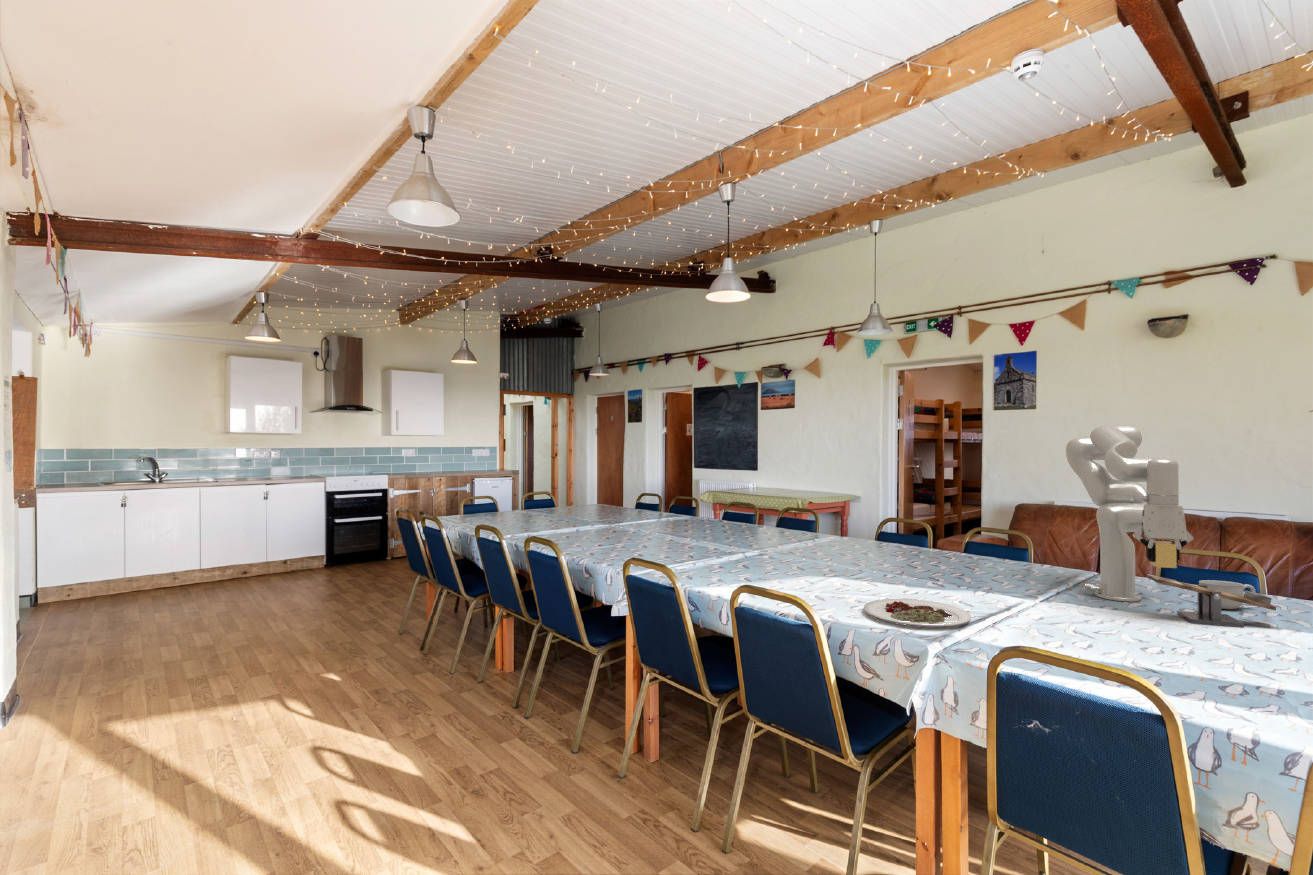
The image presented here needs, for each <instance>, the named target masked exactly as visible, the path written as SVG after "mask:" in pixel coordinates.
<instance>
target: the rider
mask: <svg viewBox="0 0 1313 875" xmlns="http://www.w3.org/2000/svg"><path fill="white" fill-rule="evenodd" d="M1153 548H1154V550H1155V561H1154V562H1151V561H1149V564H1150V565H1151V566H1153V567H1154V568H1166V569H1168V568H1169V569H1170V568H1171V569H1177V568H1178V566H1177V564H1178V563H1177V555H1176V544H1174V543H1172V542H1171V541H1166V540H1165V541H1164V540H1163V541H1162V540H1161V541H1160V540H1155V541H1154V544H1153Z"/></svg>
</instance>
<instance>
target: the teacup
mask: <svg viewBox="0 0 1313 875" xmlns="http://www.w3.org/2000/svg"><path fill="white" fill-rule="evenodd" d="M1198 585H1207V588H1208V589H1213V590H1217V591H1221V592H1226V593H1230V594H1234V595H1239V596H1243V597H1244V594H1245V589H1246V588H1249V591H1250V592H1254V593H1256V588H1255V587H1254V586H1253V585H1251V584H1247V583H1245V584H1243V583H1240V582H1234V581H1226V580H1211V579H1207V580H1204V579H1203V580H1202V579H1201V580H1199V581H1198ZM1243 604H1244V603H1241V602H1237V601H1233V600H1229V599H1224V598H1222V599H1221V610H1224V609H1225V610H1236V609H1238V608H1239V607H1241V606H1243Z"/></svg>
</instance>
